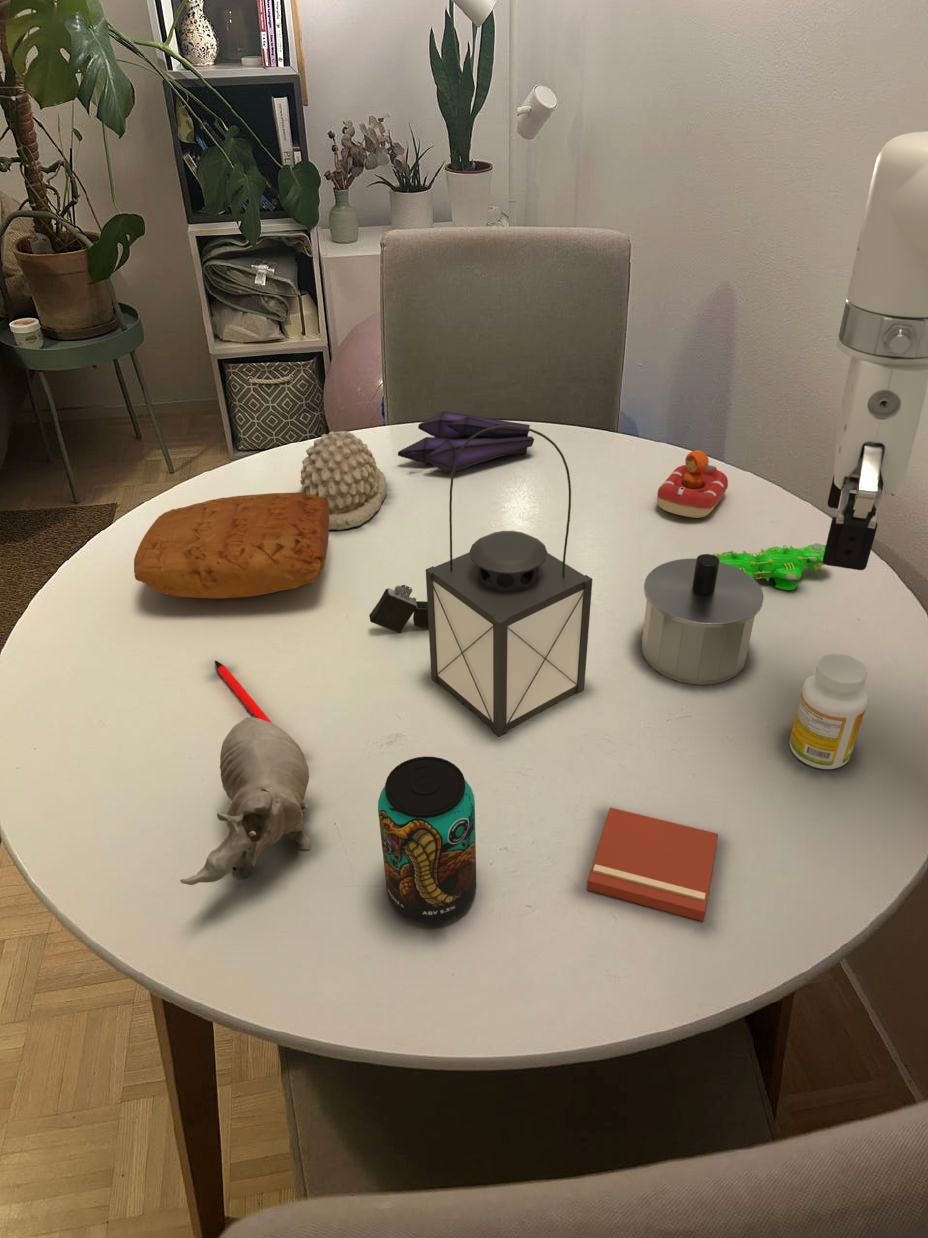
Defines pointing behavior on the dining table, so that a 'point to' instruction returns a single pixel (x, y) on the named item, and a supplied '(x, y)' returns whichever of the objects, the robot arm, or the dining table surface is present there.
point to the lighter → (399, 610)
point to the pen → (241, 692)
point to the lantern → (508, 623)
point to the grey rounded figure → (257, 796)
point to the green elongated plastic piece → (777, 563)
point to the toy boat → (693, 487)
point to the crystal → (455, 433)
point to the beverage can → (428, 839)
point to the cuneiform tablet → (236, 546)
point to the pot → (694, 649)
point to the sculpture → (344, 478)
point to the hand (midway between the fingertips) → (845, 535)
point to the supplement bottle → (830, 712)
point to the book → (654, 863)
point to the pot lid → (703, 592)
